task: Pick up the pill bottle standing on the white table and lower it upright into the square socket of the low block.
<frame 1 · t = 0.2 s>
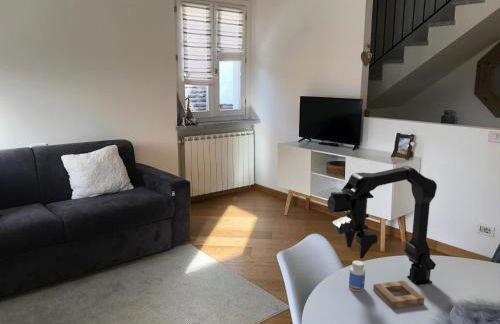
hand: (354, 252, 152), 14 cm above the table, fingers open, 9 cm apart
pill bottle: (356, 288, 156), on the table
socket block: (397, 297, 150), on the table
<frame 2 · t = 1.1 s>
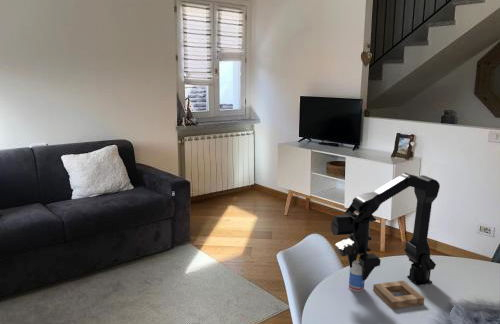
hand: (357, 273, 155), 6 cm above the table, fingers open, 9 cm apart
nothing on the table moved.
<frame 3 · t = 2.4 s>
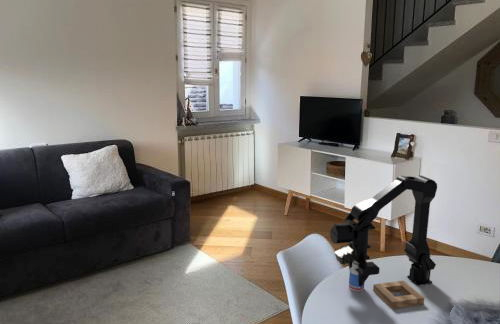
hand: (356, 281, 155), 3 cm above the table, fingers closed on pill bottle, 5 cm apart
pill bottle: (356, 288, 156), on the table, touching gripper
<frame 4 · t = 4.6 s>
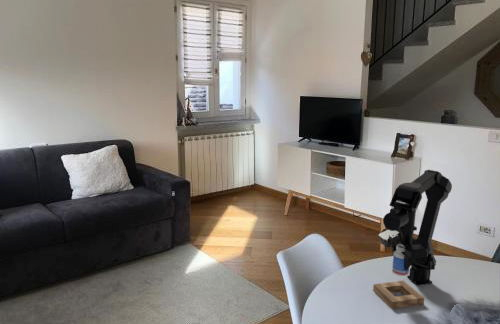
hand: (401, 266, 147), 12 cm above the table, fingers closed on pill bottle, 5 cm apart
pill bottle: (400, 273, 148), point 9 cm above the table, touching gripper
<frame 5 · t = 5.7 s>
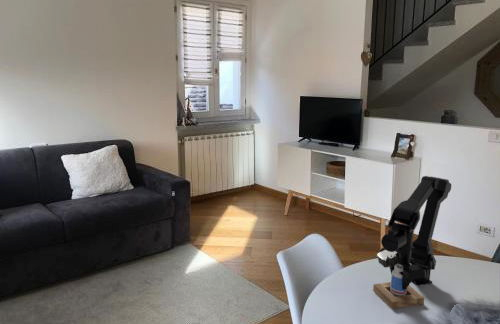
hand: (399, 285, 149), 5 cm above the table, fingers closed on pill bottle, 5 cm apart
pill bottle: (398, 292, 150), point 2 cm above the table, touching gripper
when the fingers open (3 cm above the table, at t = 6.8 s): pill bottle stays where it is, resting in socket block.
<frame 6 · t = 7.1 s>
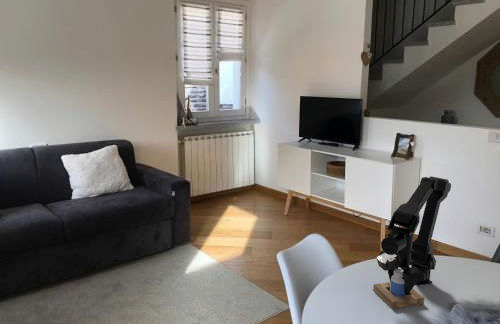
hand: (398, 288, 149), 3 cm above the table, fingers open, 8 cm apart
pill bottle: (397, 297, 150), resting in socket block
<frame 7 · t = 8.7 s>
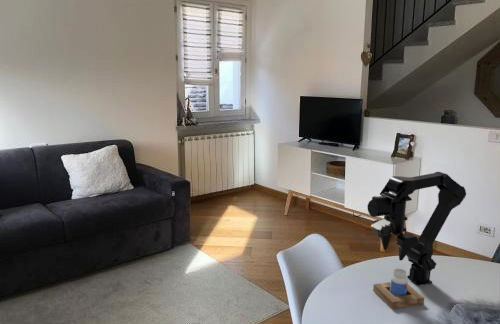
hand: (392, 254, 155), 12 cm above the table, fingers open, 9 cm apart
nothing on the table moved.
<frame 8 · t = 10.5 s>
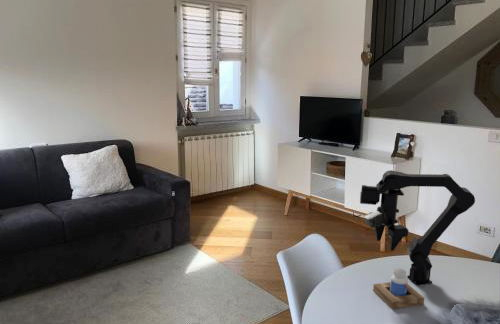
hand: (385, 245, 162), 12 cm above the table, fingers open, 9 cm apart
nothing on the table moved.
at the end: pill bottle 0.1 cm off-centre on the socket block, point 0.0 cm above the socket block's base; pill bottle tilted 0°; the gripper is holding nothing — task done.
